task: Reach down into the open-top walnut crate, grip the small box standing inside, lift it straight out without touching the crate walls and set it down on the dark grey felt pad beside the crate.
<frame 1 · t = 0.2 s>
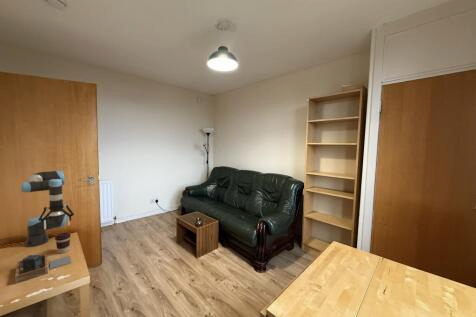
hand: (57, 226, 155), 28 cm above the table, fingers open, 13 cm apart
box: (32, 271, 146), resting in crate
coffee cup: (63, 251, 172), on the table
crate: (32, 270, 146), on the table
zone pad: (60, 262, 156), on the table
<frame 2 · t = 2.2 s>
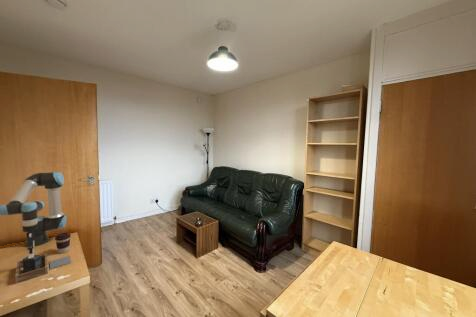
hand: (31, 253, 145), 13 cm above the table, fingers open, 13 cm apart
nothing on the table moved.
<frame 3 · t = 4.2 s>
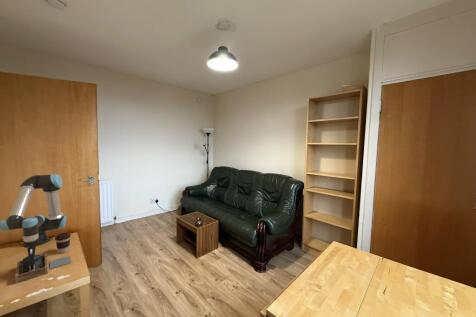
hand: (32, 270, 146), 1 cm above the table, fingers closed on box, 9 cm apart
box: (32, 271, 146), resting in crate, touching gripper
everything else where it was.
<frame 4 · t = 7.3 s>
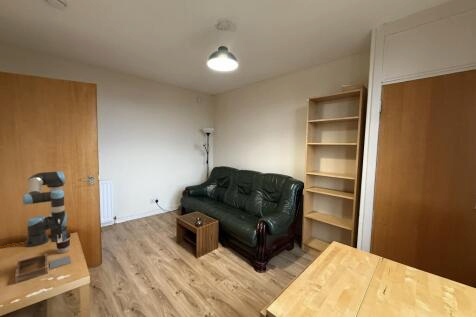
hand: (59, 239, 155), 18 cm above the table, fingers closed on box, 9 cm apart
box: (59, 240, 155), point 18 cm above the table, touching gripper
everything else where it was.
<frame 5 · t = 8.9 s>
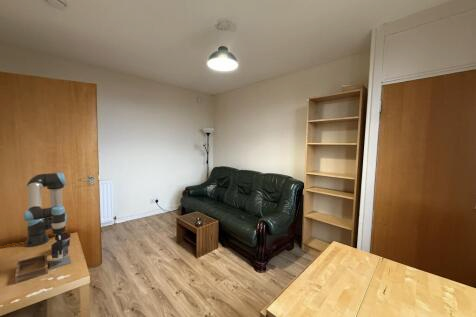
hand: (60, 255, 156), 6 cm above the table, fingers closed on box, 9 cm apart
box: (60, 256, 156), point 5 cm above the table, touching gripper
everything else where it was.
when the fingers open (3 cm above the table, at t = 10.4 s): box drops 1 cm, resting on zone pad.
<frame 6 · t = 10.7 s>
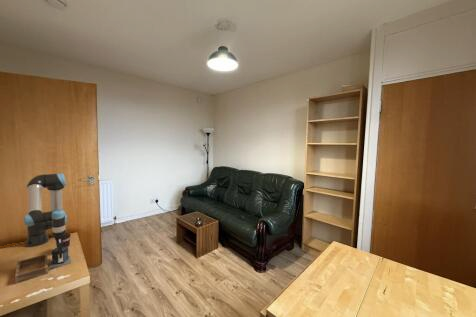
hand: (60, 258, 156), 4 cm above the table, fingers open, 12 cm apart
box: (60, 261, 157), resting on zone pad
everything else where it was.
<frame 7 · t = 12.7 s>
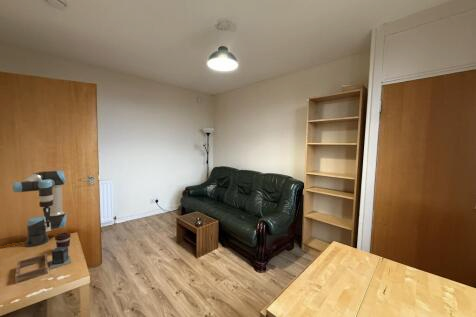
hand: (47, 227, 154), 27 cm above the table, fingers open, 13 cm apart
nothing on the table moved.
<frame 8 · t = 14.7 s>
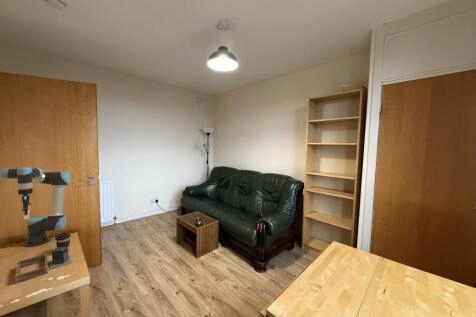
hand: (26, 216, 152), 37 cm above the table, fingers open, 13 cm apart
nothing on the table moved.
at the end: box inside the target area on the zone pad (0.3 cm from its centre), point 0.4 cm above the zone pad's base; box tilted 0°; the gripper is holding nothing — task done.
